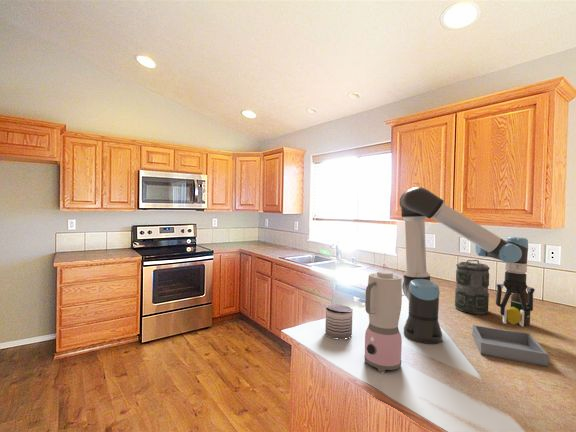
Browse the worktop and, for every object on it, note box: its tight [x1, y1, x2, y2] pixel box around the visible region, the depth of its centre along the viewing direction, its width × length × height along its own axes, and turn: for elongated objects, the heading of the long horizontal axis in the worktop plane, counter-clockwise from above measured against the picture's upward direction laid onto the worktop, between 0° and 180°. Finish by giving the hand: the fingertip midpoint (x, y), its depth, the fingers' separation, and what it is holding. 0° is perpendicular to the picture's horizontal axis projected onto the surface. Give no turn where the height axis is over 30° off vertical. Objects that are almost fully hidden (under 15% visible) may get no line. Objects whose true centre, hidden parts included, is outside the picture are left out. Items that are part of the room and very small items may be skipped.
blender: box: [364, 270, 403, 373], centre depth 101 cm, size 16×12×32 cm
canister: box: [454, 259, 491, 315], centre depth 164 cm, size 16×16×28 cm
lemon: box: [506, 306, 521, 326], centre depth 130 cm, size 6×6×8 cm
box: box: [471, 324, 550, 368], centre depth 116 cm, size 20×20×4 cm
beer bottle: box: [510, 288, 531, 327], centre depth 145 cm, size 8×8×24 cm
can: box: [324, 303, 354, 339], centre depth 126 cm, size 11×11×12 cm
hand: (512, 323), depth 131 cm, fingers closed on lemon, 5 cm apart
